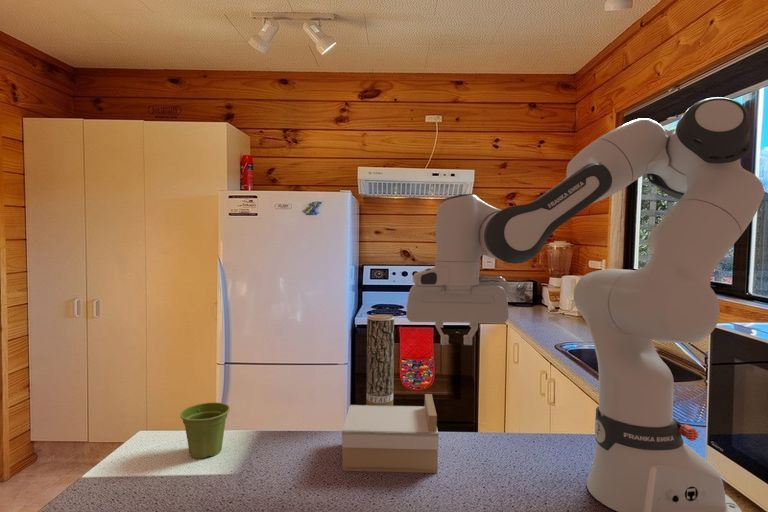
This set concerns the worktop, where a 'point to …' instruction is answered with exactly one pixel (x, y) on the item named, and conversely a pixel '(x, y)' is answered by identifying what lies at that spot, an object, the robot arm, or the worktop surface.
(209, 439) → the plant pot
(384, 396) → the bark textured cylinder
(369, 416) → the lid
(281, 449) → the worktop surface
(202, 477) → the worktop surface
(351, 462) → the tan open box
